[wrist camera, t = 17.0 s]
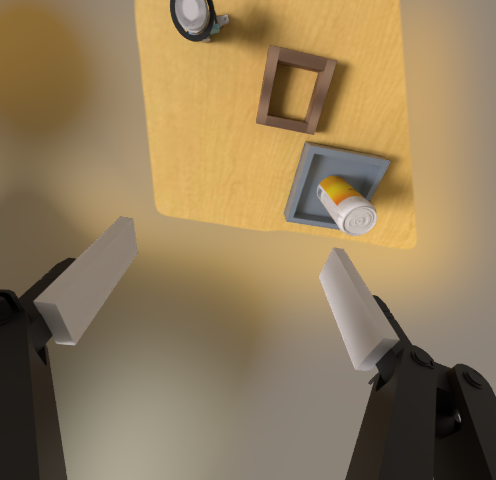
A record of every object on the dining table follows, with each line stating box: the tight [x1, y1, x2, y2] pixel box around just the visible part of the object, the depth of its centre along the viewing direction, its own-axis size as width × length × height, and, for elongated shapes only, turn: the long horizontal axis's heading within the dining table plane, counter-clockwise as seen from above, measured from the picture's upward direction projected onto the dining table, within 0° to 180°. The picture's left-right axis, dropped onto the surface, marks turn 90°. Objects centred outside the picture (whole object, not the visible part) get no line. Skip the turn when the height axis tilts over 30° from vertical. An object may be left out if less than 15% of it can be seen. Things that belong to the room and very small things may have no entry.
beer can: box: [317, 175, 377, 236], centre depth 41 cm, size 6×6×15 cm
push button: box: [170, 0, 229, 43], centre depth 30 cm, size 7×5×10 cm
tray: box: [284, 141, 391, 230], centre depth 47 cm, size 16×16×4 cm
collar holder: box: [256, 45, 337, 135], centre depth 37 cm, size 10×10×4 cm
